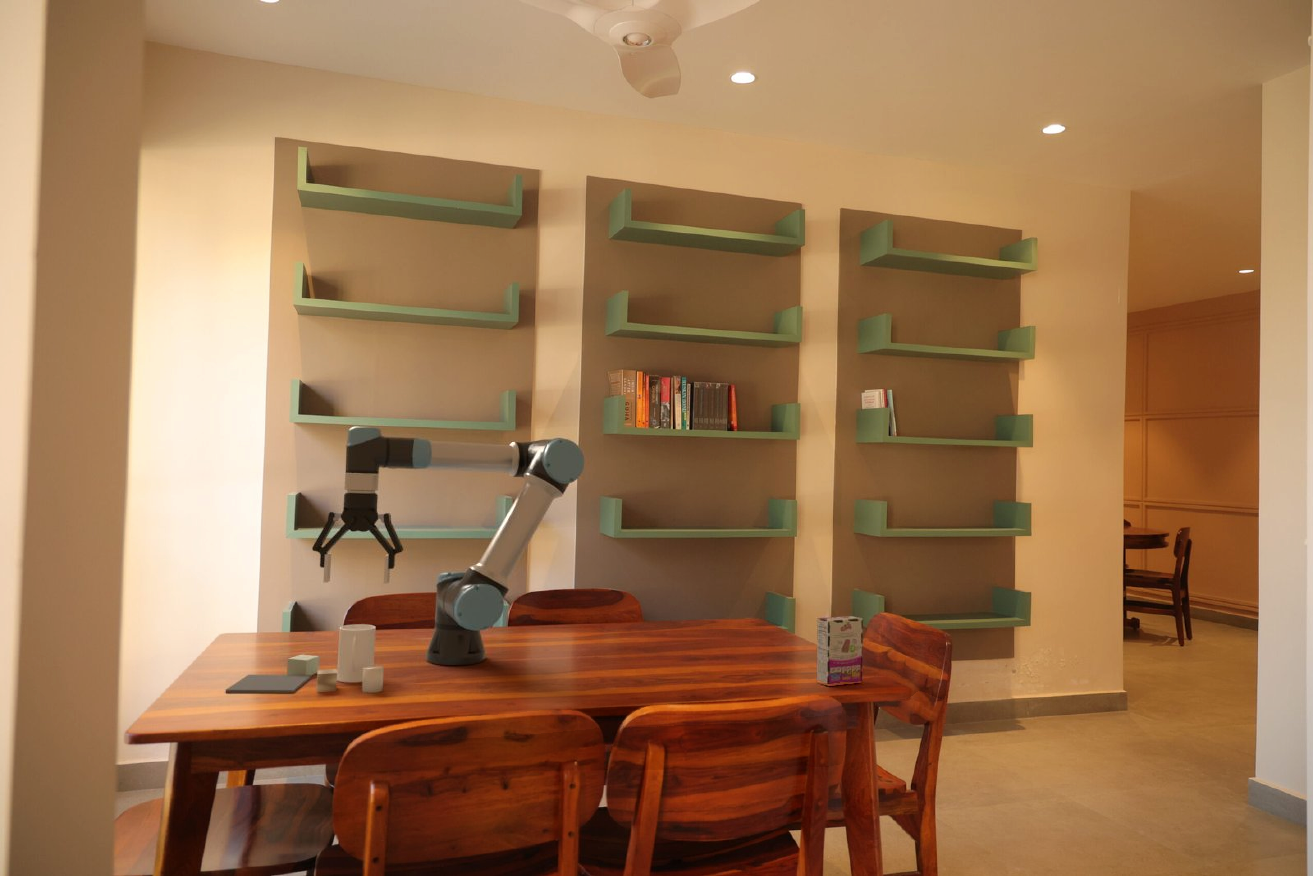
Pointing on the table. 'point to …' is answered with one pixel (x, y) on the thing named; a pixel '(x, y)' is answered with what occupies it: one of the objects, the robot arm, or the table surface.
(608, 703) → the table surface
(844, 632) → the candy bar box
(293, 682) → the coaster
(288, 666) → the sage block
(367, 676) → the beige rounded block
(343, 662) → the mug
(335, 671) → the maple block
